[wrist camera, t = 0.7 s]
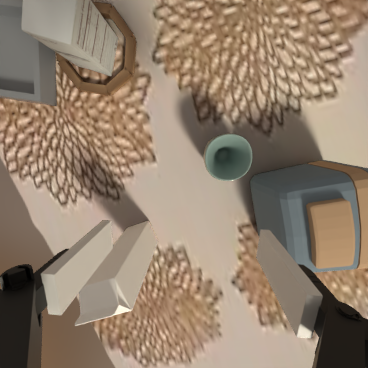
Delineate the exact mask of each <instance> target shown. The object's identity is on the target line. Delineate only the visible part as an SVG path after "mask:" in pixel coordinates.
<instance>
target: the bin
mask: <svg viewBox="0 0 368 368" xmlns="http://www.w3.org/2000/svg"><path fill="white" fill-rule="evenodd" d="M22 5H23V0H0V98H6V99H13V100H19V101H26V102H33V103H40V104H46V105H53V106H56V60H55V51H53V50H52V49H50V48H49V47H47V46H46V45H44V44H43V43H41V42H40V41H38V40H37V39H35V38H33V37H32V36H30V35H29V34H27V33H26V32H24V31H23V30H22V27H21V23H22Z"/></svg>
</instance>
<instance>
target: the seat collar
mask: <svg viewBox="0 0 368 368" xmlns="http://www.w3.org/2000/svg"><path fill="white" fill-rule="evenodd" d="M92 3H93V4H94V5H95V7H96V8H97V9H98V11H99V12H100V14H101V15H102V16H103V18H107V19H112V20H113V21H114V22H115V24H116V25H117V27H118V28H119V29H120V31H121V32H122V34H123V35H124V36H125V38H126V46H125V63H124V69H123V70H122V71H120V72H119V73H118V74H117V75H116V76H115V77H114V78H113V79H112V80H111V81H110V82H109V83H108V84H107V85H100V84H93V83H86V82H84V81H83V80H82V79H81V77H80V76H79V75H78V73H77V72H76V71H75V70H74V68H73V67H72V66H71V64H70V63H69V60H67V59H66V58H64V57H63V56H61V55H60V54H58V53H57V52H56V53H57V61H59V63H58V64H59V66H60V67H61V68H62V70H63V71H64V72H65V73H66V75H67V76H68V77H69V78H70V80H71V81H72V82H73V83H74V85H75V86H76V87H77V88H78V89H80V90H81V91H84V92H89V93H96V94H103V95H110V94H112V95H113V94H114V93H115V92H117V91H118V90H119V89H120V88H121V87H122V86H123V85H124V84H125V83H126V82H128V81H129V80H130V79H131V78H132V77H133V76H132V74H131V73H133V74H134V71H135V57H136V43H137V42H136V40H135V39H136V38H135V37H134V35H133V33H132V32H131V30H130V29H129V28H128V26H127V25H126V23H125V22H124V20H123V19H122V18H121V16H120V15H119V13H118V12H117V10H116V9H115V8H114V6H113V7H112V6H111V4H107V3H99V2H92Z"/></svg>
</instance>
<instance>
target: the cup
mask: <svg viewBox="0 0 368 368" xmlns="http://www.w3.org/2000/svg"><path fill="white" fill-rule="evenodd" d="M203 158H204V164H205V167H206V169H207V171H208V172H209V173H210V175H211V176H213V177H214V178H216V179H219V180H223V181H232V180H236V179H239V178H241V177H242V176H244V175H245V174H246V173H247V172H248V170H249V168H250V166H251V163H252V149H251V146H250V144H249V142H248V141H247V140H246V139H245V138H244V137H242V136H240V135H237V134H221V135H218V136H216V137H214V138H212V139H211V140H210V141H209V142H208V143H207V144H206V146H205V149H204V153H203Z"/></svg>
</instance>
